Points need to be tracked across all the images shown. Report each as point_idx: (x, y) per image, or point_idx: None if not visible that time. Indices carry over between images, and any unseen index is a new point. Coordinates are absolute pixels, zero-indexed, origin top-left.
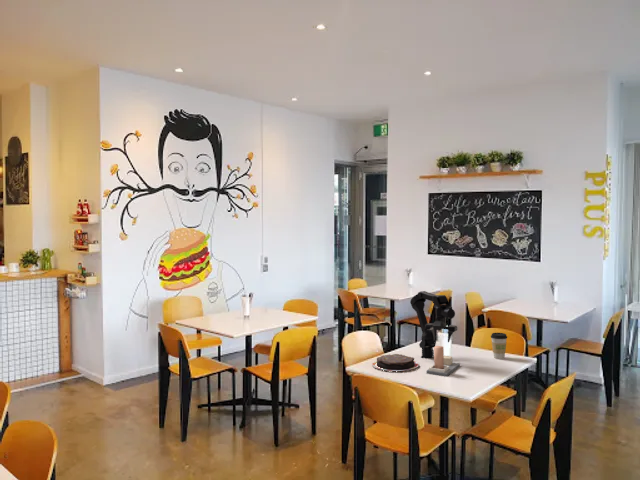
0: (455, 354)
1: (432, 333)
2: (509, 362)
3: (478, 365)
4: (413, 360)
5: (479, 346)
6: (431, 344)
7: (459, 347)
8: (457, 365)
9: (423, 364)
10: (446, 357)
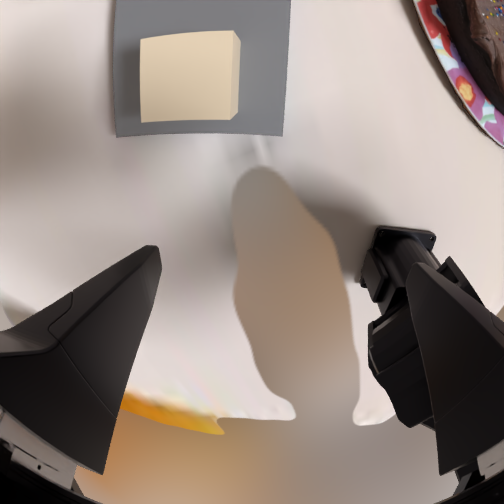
0: (247, 346)
1: (500, 343)
2: (21, 295)
3: (55, 203)
4: (467, 23)
5: (203, 421)
6: (405, 306)
7: (263, 410)
8: (113, 80)
9: (397, 63)
10: (181, 58)
